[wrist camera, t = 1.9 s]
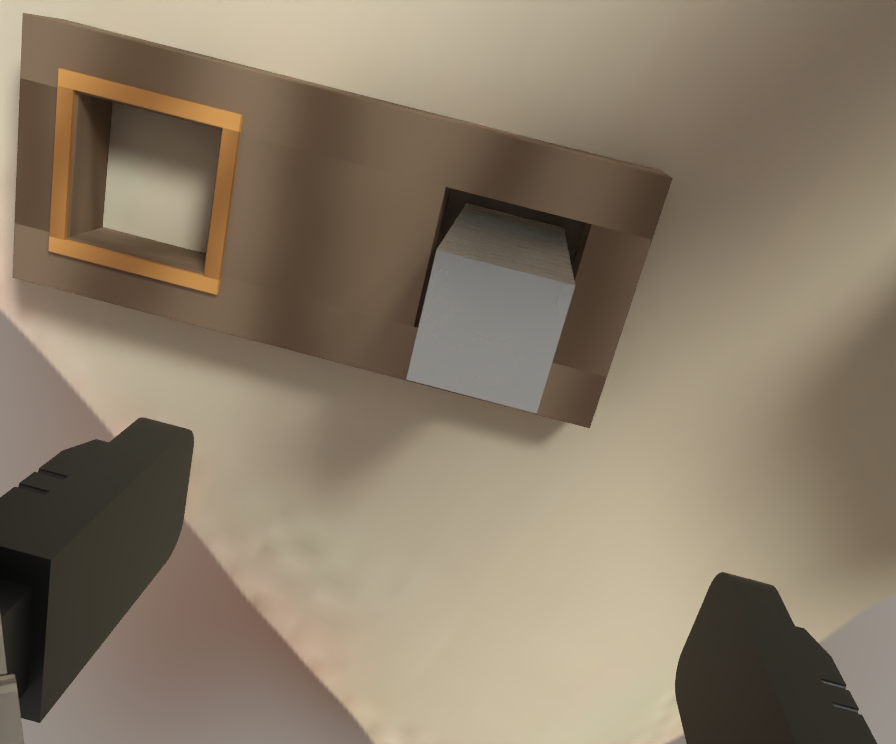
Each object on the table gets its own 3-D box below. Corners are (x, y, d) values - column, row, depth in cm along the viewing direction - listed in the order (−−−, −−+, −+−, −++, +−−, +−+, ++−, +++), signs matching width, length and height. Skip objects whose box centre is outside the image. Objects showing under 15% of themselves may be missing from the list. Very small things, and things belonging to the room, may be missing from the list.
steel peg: (563, 227, 31) (575, 285, 22) (536, 321, 33) (536, 413, 23) (466, 203, 31) (436, 249, 22) (443, 297, 33) (406, 379, 23)
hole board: (661, 171, 30) (673, 178, 28) (586, 404, 34) (589, 430, 31) (62, 19, 31) (19, 12, 28) (48, 264, 34) (9, 278, 32)
